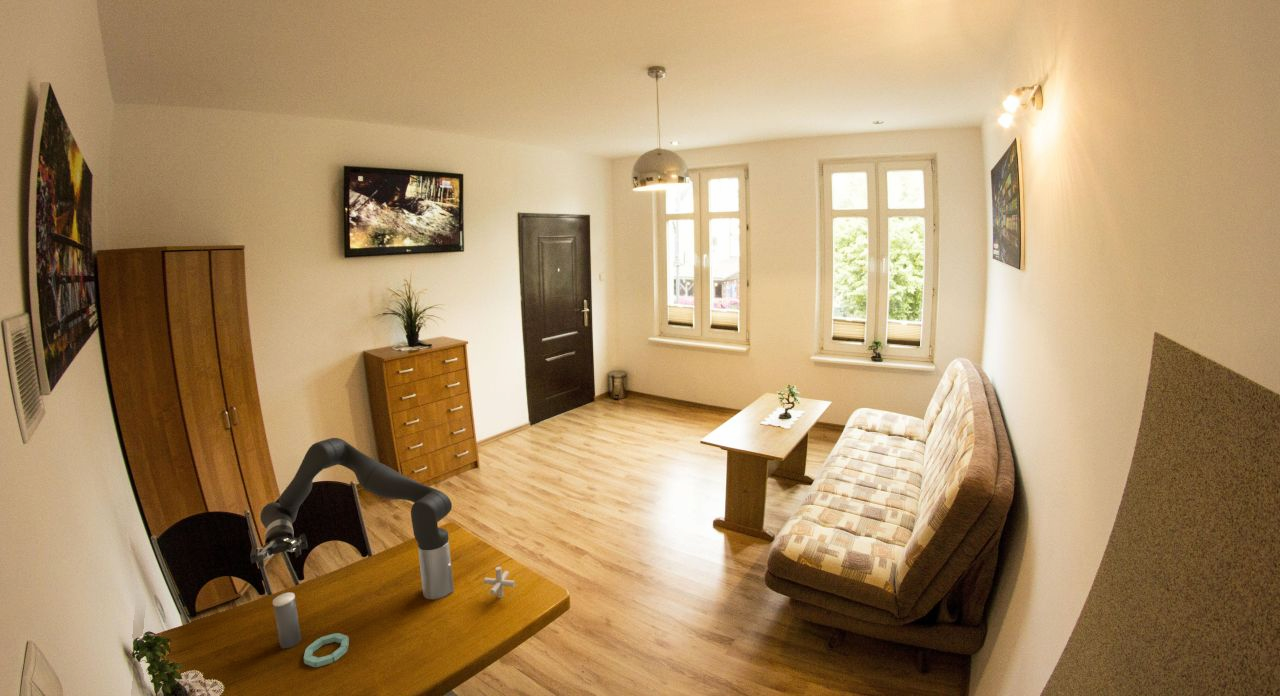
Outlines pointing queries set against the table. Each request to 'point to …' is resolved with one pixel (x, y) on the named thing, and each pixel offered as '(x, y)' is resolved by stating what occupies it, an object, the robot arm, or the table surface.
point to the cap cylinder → (287, 620)
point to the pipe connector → (499, 582)
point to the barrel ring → (327, 659)
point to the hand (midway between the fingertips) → (279, 559)
